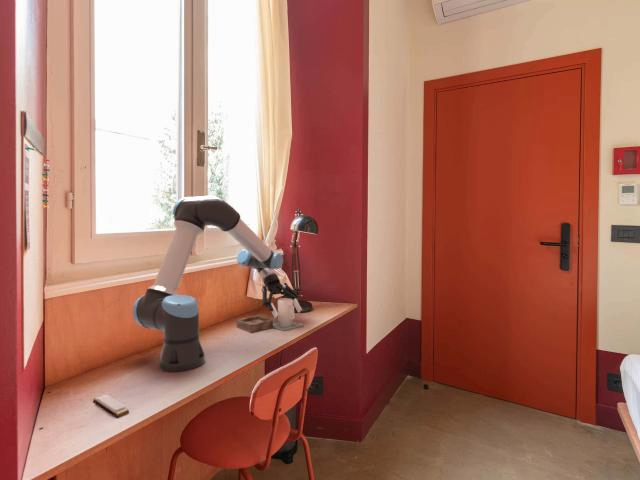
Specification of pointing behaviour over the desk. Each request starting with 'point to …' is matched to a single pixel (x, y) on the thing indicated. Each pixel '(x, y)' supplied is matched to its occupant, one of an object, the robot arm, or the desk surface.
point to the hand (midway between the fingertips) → (288, 313)
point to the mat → (295, 325)
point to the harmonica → (111, 405)
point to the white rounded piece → (285, 312)
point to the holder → (254, 323)
